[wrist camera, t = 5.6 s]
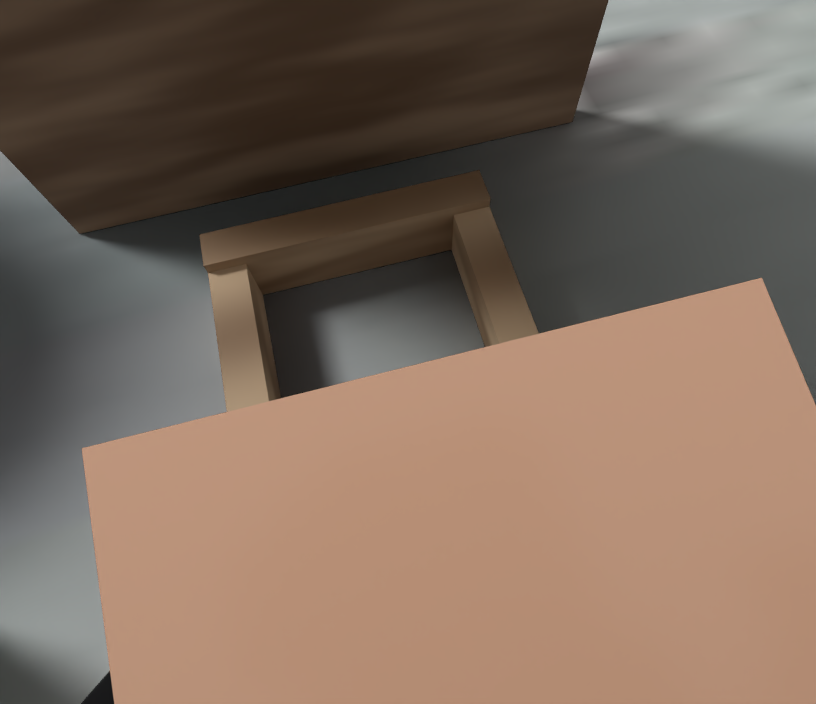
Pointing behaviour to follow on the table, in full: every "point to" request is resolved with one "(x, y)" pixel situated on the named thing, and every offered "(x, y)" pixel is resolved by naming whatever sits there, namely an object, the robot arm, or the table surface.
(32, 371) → the table surface
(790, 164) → the table surface
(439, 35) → the shelf
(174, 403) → the table surface
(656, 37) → the table surface
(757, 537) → the terracotta box
